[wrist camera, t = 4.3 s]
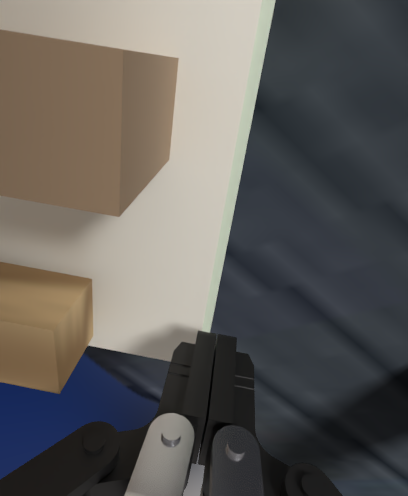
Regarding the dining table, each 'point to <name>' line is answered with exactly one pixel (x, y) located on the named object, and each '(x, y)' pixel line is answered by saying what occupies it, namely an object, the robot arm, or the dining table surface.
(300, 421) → the dining table surface
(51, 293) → the tan tapered bar
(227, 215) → the light green open box
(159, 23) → the lid
